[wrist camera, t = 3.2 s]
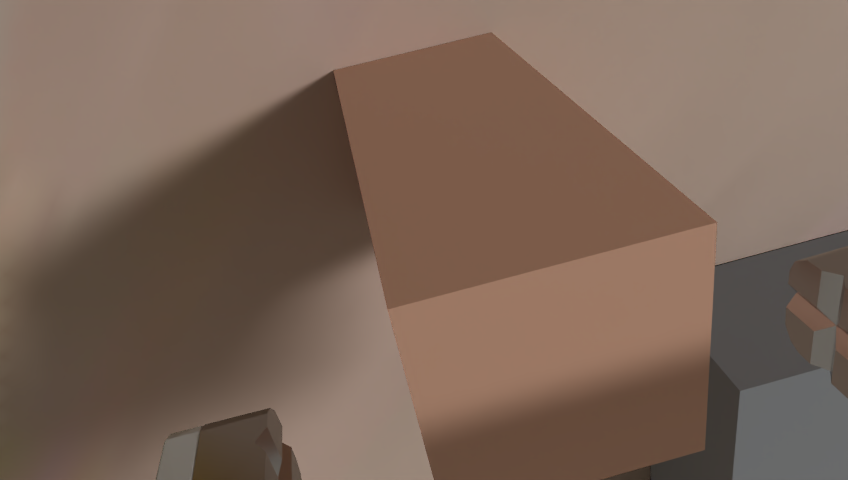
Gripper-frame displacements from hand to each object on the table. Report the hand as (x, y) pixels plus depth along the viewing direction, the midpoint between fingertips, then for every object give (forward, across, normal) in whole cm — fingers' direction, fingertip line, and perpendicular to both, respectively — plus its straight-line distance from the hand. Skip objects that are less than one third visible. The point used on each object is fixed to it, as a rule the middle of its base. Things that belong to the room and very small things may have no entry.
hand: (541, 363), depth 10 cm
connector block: (+9, 0, -1) cm, 9 cm away
